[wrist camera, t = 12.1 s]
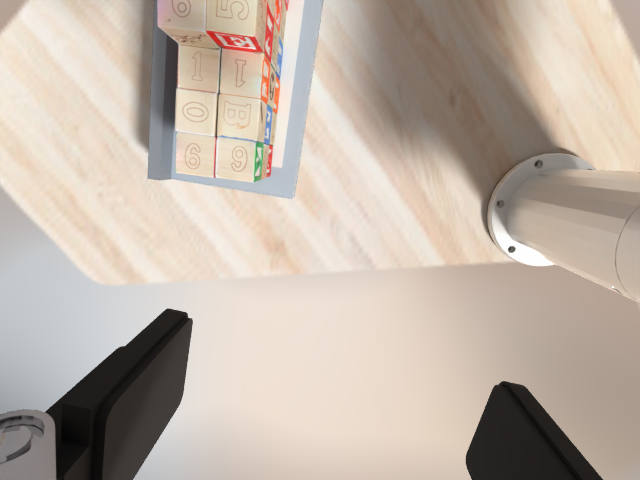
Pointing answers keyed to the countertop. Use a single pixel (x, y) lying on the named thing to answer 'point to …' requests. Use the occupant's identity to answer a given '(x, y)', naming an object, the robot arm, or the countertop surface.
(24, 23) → the countertop surface
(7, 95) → the countertop surface
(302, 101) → the tray
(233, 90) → the stack of blocks
